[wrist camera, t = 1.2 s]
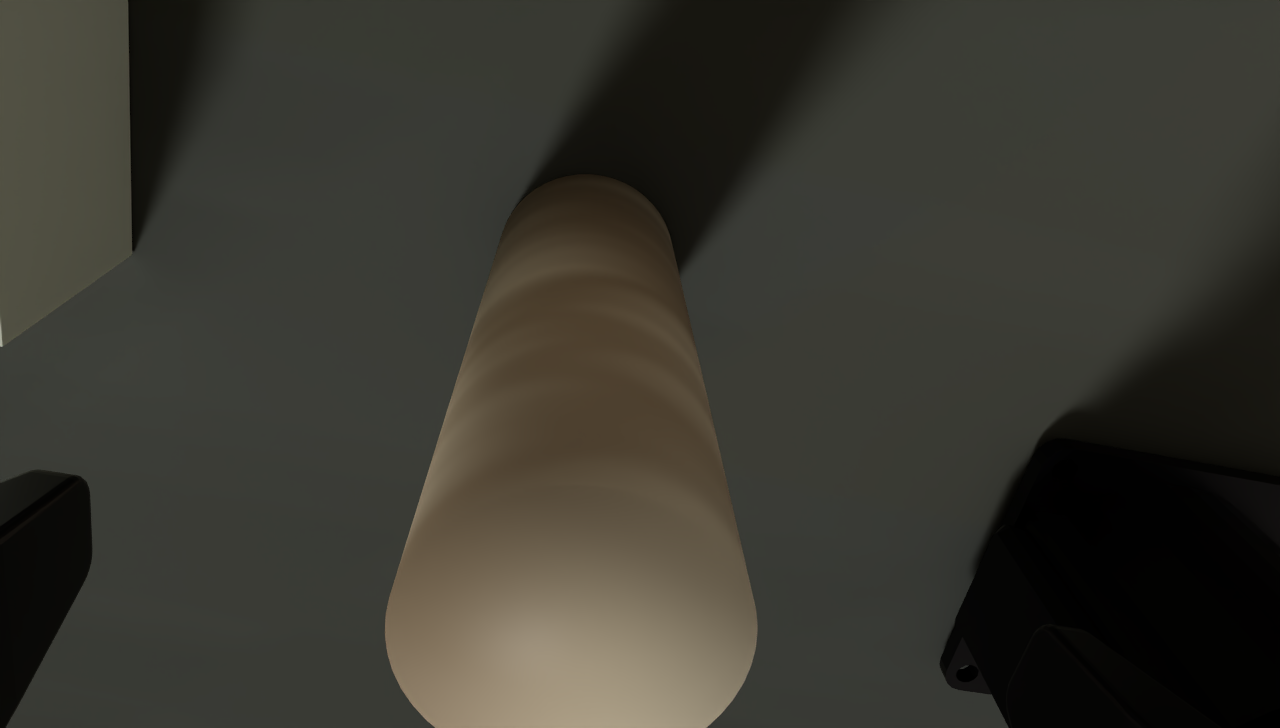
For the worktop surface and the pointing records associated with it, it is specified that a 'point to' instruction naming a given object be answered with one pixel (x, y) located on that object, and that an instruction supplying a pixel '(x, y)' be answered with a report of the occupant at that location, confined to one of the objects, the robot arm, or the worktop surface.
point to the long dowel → (576, 494)
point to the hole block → (61, 152)
